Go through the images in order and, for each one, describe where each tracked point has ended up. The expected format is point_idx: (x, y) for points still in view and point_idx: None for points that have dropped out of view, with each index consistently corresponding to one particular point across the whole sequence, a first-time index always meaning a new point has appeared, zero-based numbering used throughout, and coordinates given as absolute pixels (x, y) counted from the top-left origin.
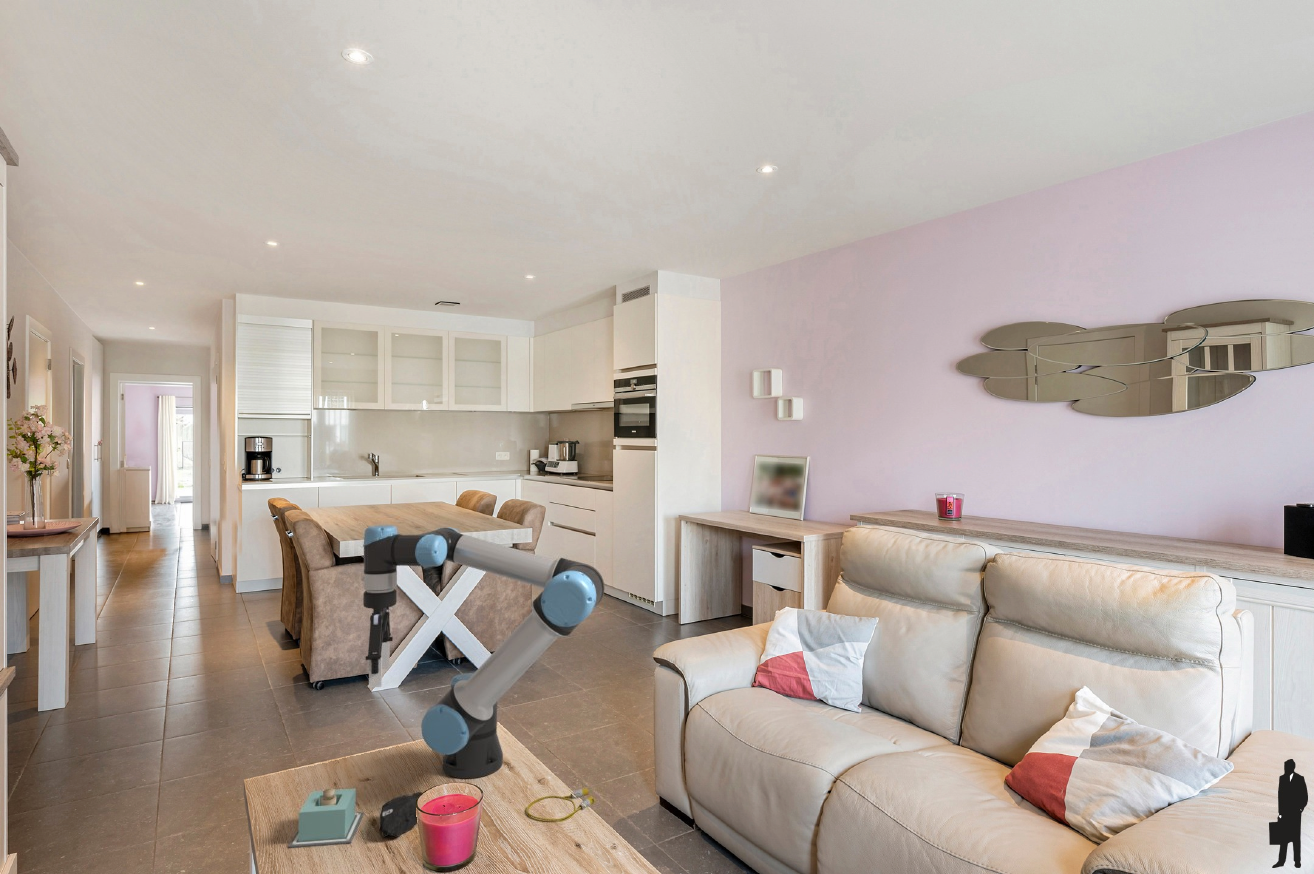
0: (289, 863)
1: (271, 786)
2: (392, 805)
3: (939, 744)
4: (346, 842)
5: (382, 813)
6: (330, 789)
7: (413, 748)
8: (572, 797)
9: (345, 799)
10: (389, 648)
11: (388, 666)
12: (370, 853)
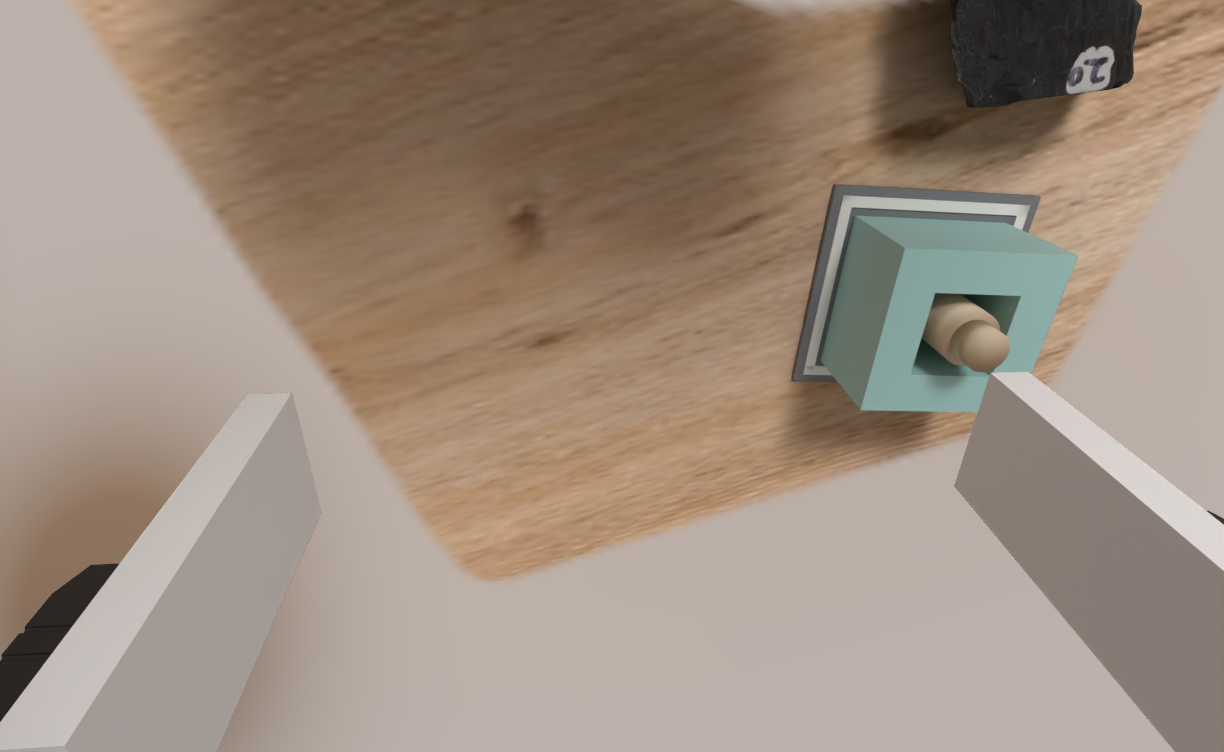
0: (1062, 356)
1: (532, 533)
2: (1043, 53)
3: None
4: (1034, 210)
5: (1072, 93)
6: (977, 348)
7: (157, 25)
8: None
9: (990, 271)
10: (89, 614)
11: (280, 416)
12: (1143, 110)
